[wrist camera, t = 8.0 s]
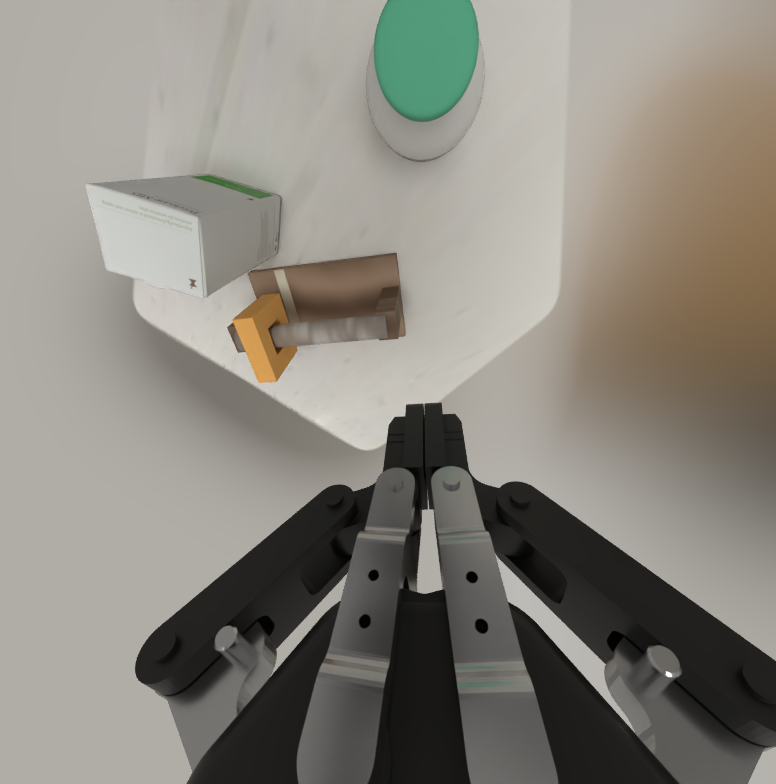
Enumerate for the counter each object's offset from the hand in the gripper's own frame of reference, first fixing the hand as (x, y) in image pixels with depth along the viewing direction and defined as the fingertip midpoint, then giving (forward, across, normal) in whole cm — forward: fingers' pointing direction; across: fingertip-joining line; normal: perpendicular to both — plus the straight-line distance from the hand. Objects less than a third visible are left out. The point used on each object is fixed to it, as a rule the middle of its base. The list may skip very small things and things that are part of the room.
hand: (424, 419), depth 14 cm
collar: (+23, +17, +4) cm, 29 cm away
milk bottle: (+29, -1, -13) cm, 32 cm away
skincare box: (+29, +20, -7) cm, 36 cm away
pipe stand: (+29, +12, +4) cm, 32 cm away
